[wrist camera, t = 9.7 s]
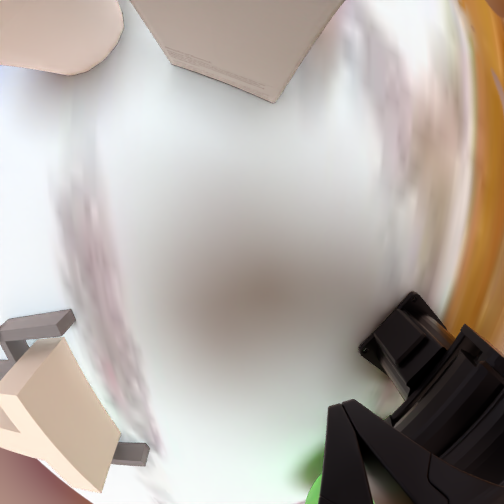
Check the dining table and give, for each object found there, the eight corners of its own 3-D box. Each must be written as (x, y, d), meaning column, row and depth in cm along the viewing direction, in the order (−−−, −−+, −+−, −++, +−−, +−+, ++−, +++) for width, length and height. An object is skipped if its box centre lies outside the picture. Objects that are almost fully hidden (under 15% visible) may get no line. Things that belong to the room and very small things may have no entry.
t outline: (71, 309, 20) (55, 324, 17) (149, 448, 24) (145, 466, 22) (-40, 325, 20) (-52, 335, 17) (28, 434, 25) (21, 446, 22)
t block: (64, 336, 20) (16, 395, 13) (121, 433, 24) (101, 493, 16) (-20, 343, 20) (-60, 381, 13) (30, 423, 24) (5, 465, 16)
